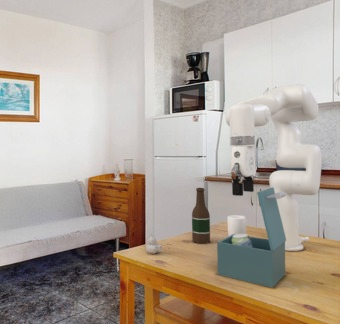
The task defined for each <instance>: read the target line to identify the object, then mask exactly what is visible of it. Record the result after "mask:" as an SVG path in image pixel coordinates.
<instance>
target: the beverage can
mask: <svg viewBox="0 0 340 324" xmlns="http://www.w3.org/2000/svg"><path fill="white" fill-rule="evenodd" d="M249 236H250V235H249V234H248V233H246V234H236V235H233V236H232V237H233V238H232V240H231V241H232V244H234V245H240V246H245V247H251V248H253V247H252V242H251V238H250V237H251V236H250V237H249Z"/></svg>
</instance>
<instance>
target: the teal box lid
mask: <svg viewBox="0 0 340 324" xmlns="http://www.w3.org/2000/svg"><path fill="white" fill-rule="evenodd" d="M256 194H257V197H258V203H259V206H260V210H261V214H262V215H261V216H262V220H263V224H264V228H265V232H266V236H267V239H268V240H269V245H270V249H271V250H275V249H276V248H277V247H278V246H280V245H281V244H282V243H284V242H285V241H286V237H285V233H284V228H283V224H282V220H281V216H280V212H279V208H278V204H277V200H276V199H280V198H282V197H284V196H285V195H286V194H285V192H283V191H281V192H278V193H276V194H275V191H274V188H270V187H269V188H266V189H262V190H261V191H257V192H256Z"/></svg>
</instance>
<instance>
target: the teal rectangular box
mask: <svg viewBox="0 0 340 324" xmlns="http://www.w3.org/2000/svg"><path fill="white" fill-rule="evenodd" d="M233 235H236V234H232V235H230V236H229V237H228V236H226V237H225V238H222V239H221V240H219V241H217V242H216V251H217V252H216V254H217V257H216V258H217V275H218V276H223V277H226V278H230V279H235V280H239V281H242V282H247V283H250V284H251V283H252V284H254V285H255V284H256V285H259V286H264V287H268V288H272V289H273V288H274V287H275V286H276V285H277V284H278V283H279V282H280V281H281V280H282V279H283V278H284V277H285V276H286V250H285V242H284V243H282V244H281V245H280V246H278V247H277V248H276V249H275V250H271V249H270V245H269V240H268V238H262V237H256V236H250V235H248V236H249V237H250V238H251V242H252V247H253V248H251V247H245V246H240V245H234V244H232V241H231V240H232V238H233V237H232V236H233Z"/></svg>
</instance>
